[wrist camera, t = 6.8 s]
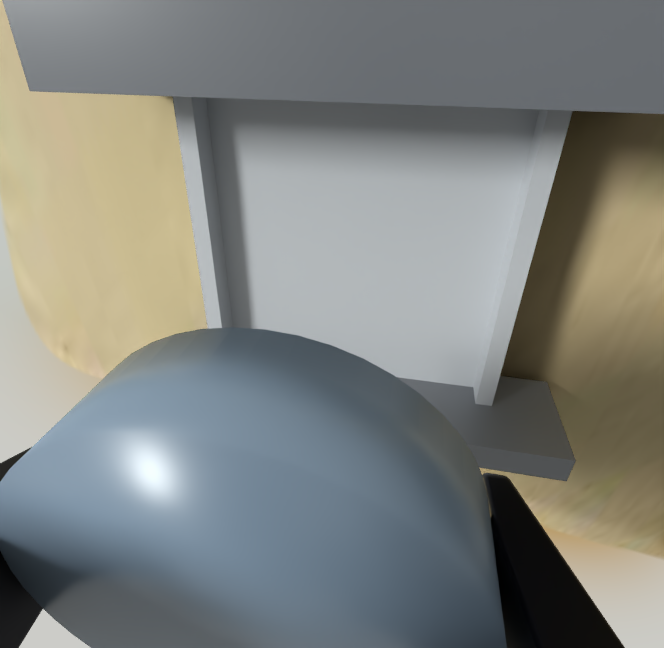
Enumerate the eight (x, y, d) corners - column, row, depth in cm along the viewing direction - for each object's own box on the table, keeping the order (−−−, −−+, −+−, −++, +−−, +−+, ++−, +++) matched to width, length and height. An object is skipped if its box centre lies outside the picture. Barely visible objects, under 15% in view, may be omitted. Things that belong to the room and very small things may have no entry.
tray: (540, 400, 18) (566, 481, 15) (186, 353, 21) (136, 413, 17) (665, 41, 12) (766, 32, 8) (126, 34, 14) (25, 25, 11)
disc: (546, 596, 8) (578, 749, 6) (234, 620, 10) (196, 729, 9) (365, 247, 5) (332, 342, 3) (13, 403, 8) (-103, 499, 6)
